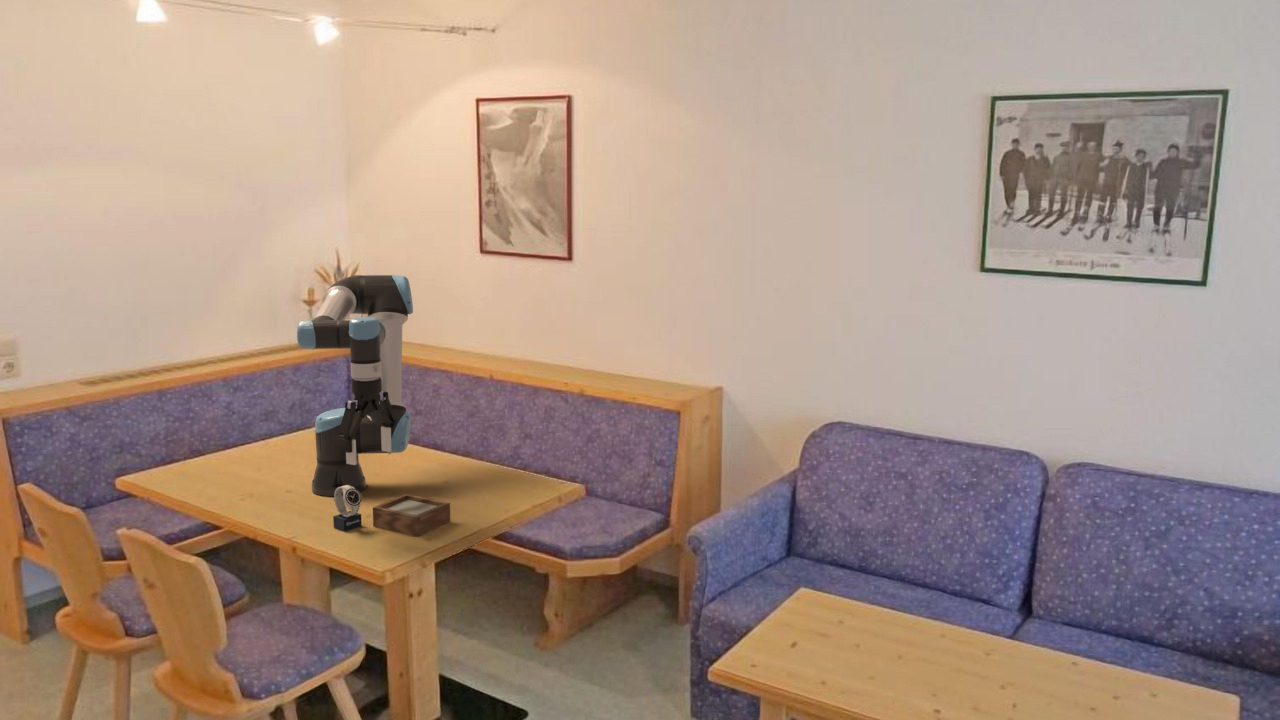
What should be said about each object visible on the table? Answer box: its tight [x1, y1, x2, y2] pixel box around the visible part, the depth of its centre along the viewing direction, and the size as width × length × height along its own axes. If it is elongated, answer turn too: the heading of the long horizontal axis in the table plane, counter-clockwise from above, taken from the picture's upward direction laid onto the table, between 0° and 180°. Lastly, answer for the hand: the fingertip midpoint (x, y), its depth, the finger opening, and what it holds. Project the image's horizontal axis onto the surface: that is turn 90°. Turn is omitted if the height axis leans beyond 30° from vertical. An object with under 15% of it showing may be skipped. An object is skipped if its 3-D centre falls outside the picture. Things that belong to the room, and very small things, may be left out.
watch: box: [332, 485, 363, 532], centre depth 260 cm, size 6×8×11 cm
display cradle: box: [372, 493, 451, 538], centre depth 263 cm, size 15×13×5 cm
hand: (369, 457), depth 260 cm, fingers open, 13 cm apart
